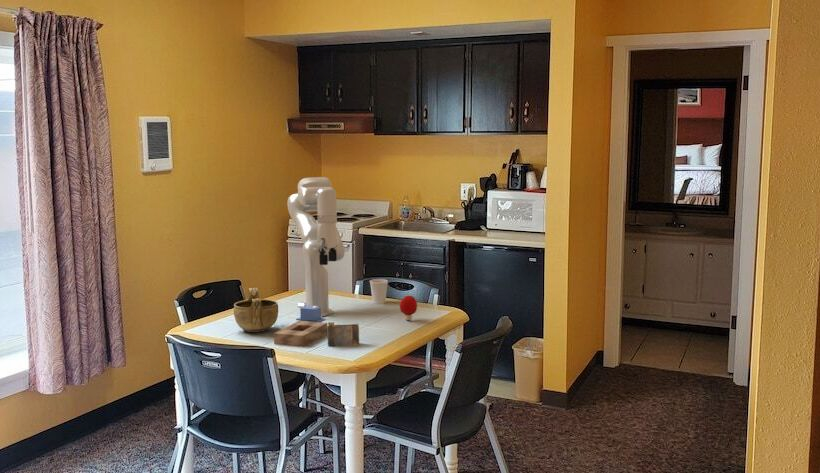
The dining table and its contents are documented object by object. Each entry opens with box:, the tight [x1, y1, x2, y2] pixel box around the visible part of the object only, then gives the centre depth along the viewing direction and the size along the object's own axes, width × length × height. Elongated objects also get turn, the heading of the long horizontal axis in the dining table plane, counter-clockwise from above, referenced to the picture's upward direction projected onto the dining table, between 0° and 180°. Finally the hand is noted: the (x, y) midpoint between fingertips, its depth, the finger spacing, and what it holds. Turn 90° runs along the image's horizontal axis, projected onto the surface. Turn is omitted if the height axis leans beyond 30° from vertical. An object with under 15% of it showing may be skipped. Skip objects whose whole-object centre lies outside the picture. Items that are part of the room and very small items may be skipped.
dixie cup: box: [369, 278, 389, 305], centre depth 354 cm, size 8×8×10 cm
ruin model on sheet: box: [327, 321, 360, 347], centre depth 285 cm, size 11×3×10 cm, turn 97°
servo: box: [295, 306, 327, 323], centre depth 310 cm, size 11×4×9 cm, turn 71°
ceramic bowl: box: [233, 287, 279, 333], centre depth 306 cm, size 22×17×15 cm
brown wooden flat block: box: [273, 320, 328, 348], centre depth 294 cm, size 12×20×4 cm, turn 161°
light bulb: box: [399, 295, 418, 322], centre depth 320 cm, size 9×7×10 cm
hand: (328, 262), depth 311 cm, fingers open, 9 cm apart
